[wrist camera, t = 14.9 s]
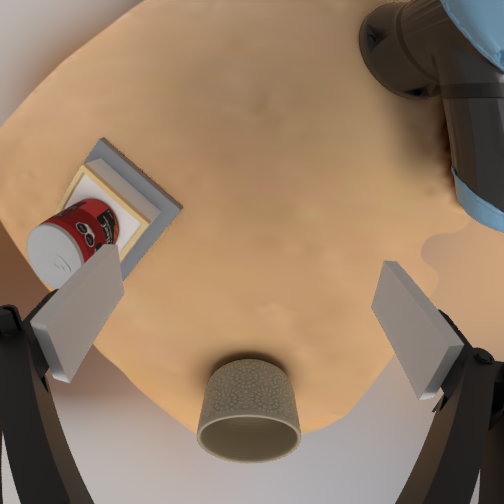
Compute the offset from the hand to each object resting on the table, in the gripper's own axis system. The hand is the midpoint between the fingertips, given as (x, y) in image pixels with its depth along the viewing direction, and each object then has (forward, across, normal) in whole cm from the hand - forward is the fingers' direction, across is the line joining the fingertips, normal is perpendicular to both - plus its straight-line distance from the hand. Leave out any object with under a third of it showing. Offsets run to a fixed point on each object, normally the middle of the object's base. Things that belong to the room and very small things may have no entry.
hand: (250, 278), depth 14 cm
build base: (+29, -21, -6) cm, 36 cm away
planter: (+29, +2, -38) cm, 48 cm away
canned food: (+23, -21, -6) cm, 31 cm away
